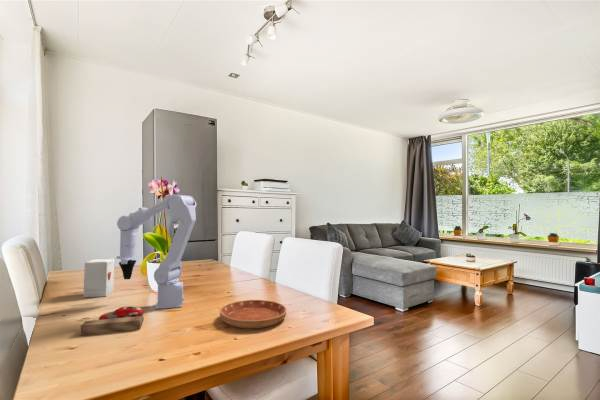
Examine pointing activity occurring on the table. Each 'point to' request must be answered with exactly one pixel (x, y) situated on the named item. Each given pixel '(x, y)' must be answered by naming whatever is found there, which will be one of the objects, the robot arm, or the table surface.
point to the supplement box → (98, 278)
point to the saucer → (253, 313)
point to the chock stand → (111, 325)
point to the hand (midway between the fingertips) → (127, 278)
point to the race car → (123, 313)
